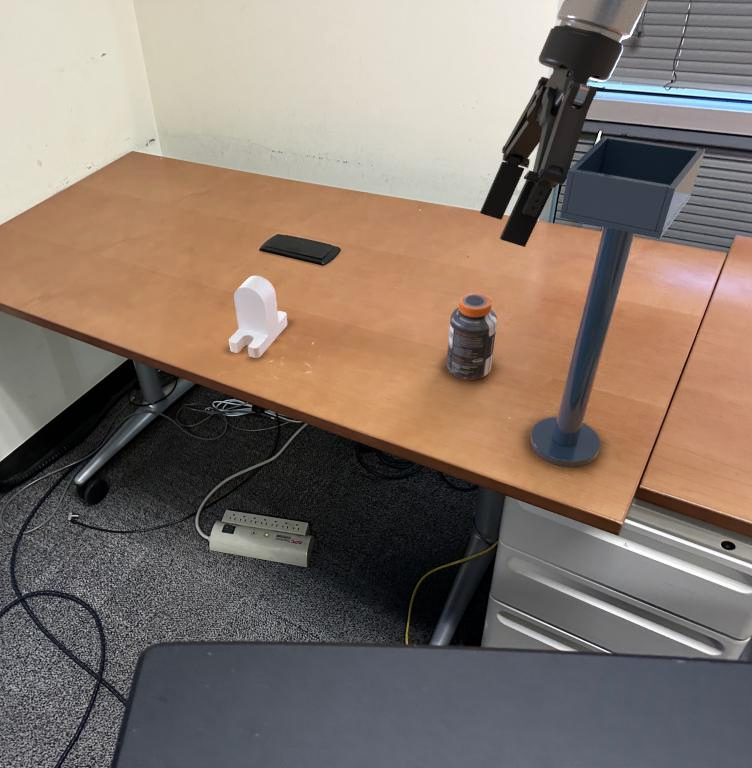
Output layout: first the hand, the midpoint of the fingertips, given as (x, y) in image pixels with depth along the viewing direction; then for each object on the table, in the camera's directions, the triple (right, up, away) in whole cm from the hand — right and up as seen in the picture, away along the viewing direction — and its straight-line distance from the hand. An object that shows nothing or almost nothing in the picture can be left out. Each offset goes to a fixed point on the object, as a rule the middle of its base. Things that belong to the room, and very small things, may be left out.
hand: (500, 228), depth 81 cm
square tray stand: (+9, -26, +2) cm, 27 cm away
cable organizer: (-28, -11, +27) cm, 40 cm away
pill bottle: (+1, -16, +15) cm, 22 cm away
